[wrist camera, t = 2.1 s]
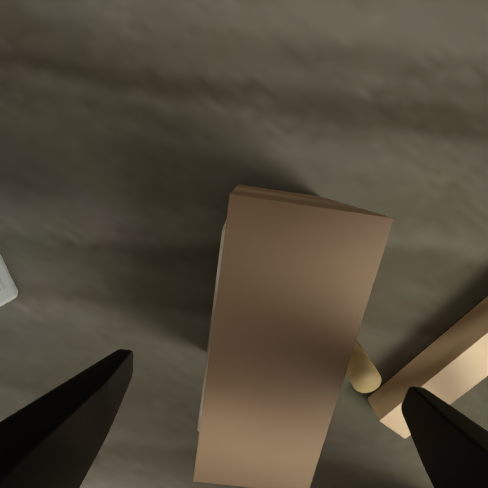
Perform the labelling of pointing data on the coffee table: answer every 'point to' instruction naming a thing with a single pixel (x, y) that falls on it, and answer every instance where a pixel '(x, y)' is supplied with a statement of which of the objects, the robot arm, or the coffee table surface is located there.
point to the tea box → (6, 285)
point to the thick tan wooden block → (282, 333)
